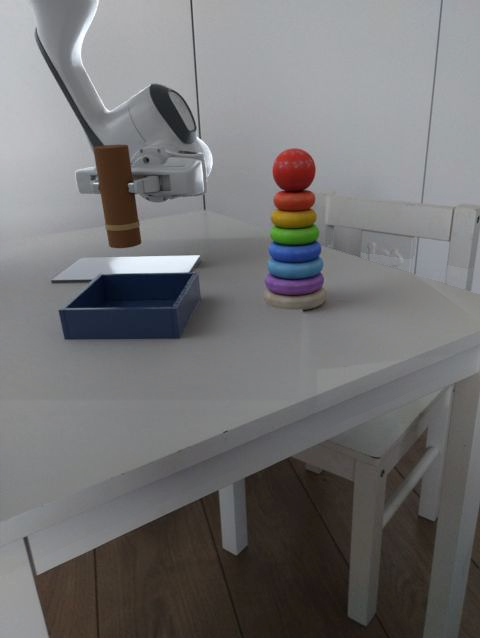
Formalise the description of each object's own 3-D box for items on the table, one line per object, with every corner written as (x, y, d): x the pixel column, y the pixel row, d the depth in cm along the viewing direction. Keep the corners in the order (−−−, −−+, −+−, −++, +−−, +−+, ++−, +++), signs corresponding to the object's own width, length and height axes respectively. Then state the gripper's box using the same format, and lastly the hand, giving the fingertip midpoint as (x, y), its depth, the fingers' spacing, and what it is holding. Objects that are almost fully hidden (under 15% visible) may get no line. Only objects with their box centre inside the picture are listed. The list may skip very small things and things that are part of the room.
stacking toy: (333, 310, 70) (335, 150, 62) (270, 316, 69) (263, 154, 61) (317, 289, 77) (317, 144, 70) (259, 295, 76) (253, 147, 69)
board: (52, 286, 84) (50, 280, 83) (82, 263, 95) (80, 257, 94) (185, 284, 82) (185, 277, 82) (200, 261, 93) (200, 255, 92)
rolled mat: (103, 249, 84) (87, 148, 78) (114, 240, 89) (99, 145, 83) (137, 248, 84) (122, 147, 78) (145, 239, 88) (133, 143, 82)
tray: (65, 344, 64) (58, 310, 63) (104, 303, 76) (99, 273, 74) (180, 343, 63) (176, 308, 61) (201, 302, 75) (198, 272, 73)
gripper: (99, 154, 95) (48, 165, 83) (213, 152, 89) (174, 164, 77) (105, 192, 98) (56, 209, 86) (216, 193, 92) (179, 211, 80)
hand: (113, 188), depth 82 cm, fingers closed on rolled mat, 5 cm apart
